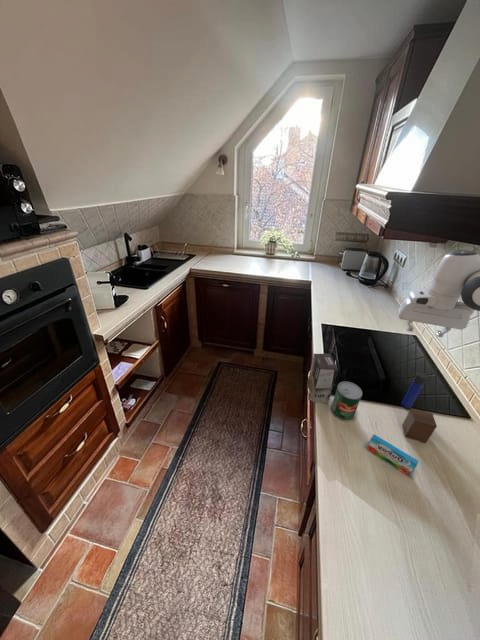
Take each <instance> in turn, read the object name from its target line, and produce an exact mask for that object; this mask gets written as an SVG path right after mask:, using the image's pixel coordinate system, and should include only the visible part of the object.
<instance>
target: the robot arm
mask: <svg viewBox="0 0 480 640" xmlns="http://www.w3.org/2000/svg"><path fill="white" fill-rule="evenodd" d="M460 298H461V301H459V300H460ZM475 311H477V312H480V254H479V253H478V252H476V251H474V250H468V249H467V250H464V249H461V250H460V249H458V250H452V251H450V252H447V253H446V254H445V255H444V256H443V257H442V259H441V260H440V262H439V264H438V266H437V267H436V270H435V271H434V274H433V279H432V282H431V283H430V284H429V286H428V287H427V288H424V289H416V290H411V291H409V293H408V297H407V298H405V299H404V300H403V301H402V303H401V305H400V306H399V308H398V311H397V316H398V318H399V319H400V320H403V321H406V323H407V328H406V331H407V332H410V333H411V332H413V331H414V329H415V328H414V325H411V324H413V322H415V323H421V324H427V325H432V326H438V327H443V328H442V329H440V330H437V332H436V334H435V335H436V337H438V338H443V337H444V335H445V334H447V333H449V332H450V331H451V330H452V329H455V330H460V331H461V330H462V331H463V330H464V329H466V328H467V327H468V324H469V322H470V318H471V316H472V315H473V314H474V312H475Z"/></svg>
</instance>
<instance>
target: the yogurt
mask: <svg viewBox="0 0 480 640" xmlns="http://www.w3.org/2000/svg"><path fill="white" fill-rule="evenodd" d="M365 449H366V451H368V452H370V453H371V454H372V455H374V456H375V457H377V458H378V459H380V460H381V461H383V462H385V463H387V464H388V465H389V466H390V467H392V468H394V469H396V470H398V472H400V473H402V474H403V475H405V476H407V477H411V475H412V474H413V472H414V471H415V469H416V468H417V467H418V464H419V460H418V459H417V458H414V457H413V456H411V455H410V454H408V453H407V452H405V451H403V450H402V449H400V448H398V447H396V446H394V445H393V444H391V443H390V442H388V441H387V440H385V439H383V438H382V437H380V436H378V435H376V434H374V433H373V434H372V435H371V438H370V440H369V442H368V444H367V446H366V448H365Z"/></svg>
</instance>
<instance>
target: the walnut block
mask: <svg viewBox="0 0 480 640" xmlns="http://www.w3.org/2000/svg"><path fill="white" fill-rule="evenodd" d="M401 426H402V431H403V435H404V438H406V439H409V440H414V441H417V442H420V443H423V444H426V443H428V441H429V439H430V437H432V435H433V433H434V432H435V430H436V429H437V426H438V425H437V423H436V420H435V417H434V413H432V412H428V411H423V410H420V409H416V408H412V407H411V408H410V409H409V411H408V413H407V414H406V417H405V419H404V420H403V422H402V424H401Z"/></svg>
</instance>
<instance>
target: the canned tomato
mask: <svg viewBox="0 0 480 640" xmlns="http://www.w3.org/2000/svg"><path fill="white" fill-rule="evenodd" d="M362 397H363V391H362V389H361V387H360V386H359V385H357V384H355V383H354V382H351V381H345V380H344V381H340V382H338V384H337V388H336V389H335V393H334V396H333V401H332V403H331V406H330V411H331V413H332V415H333V416H334V417H335V418H337V419H338V420H340V421H343V422H349V421H352V420H353V419H354V417H355V414H356V413H357V410H358V407H359V404H360V401H361V399H362Z"/></svg>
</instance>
